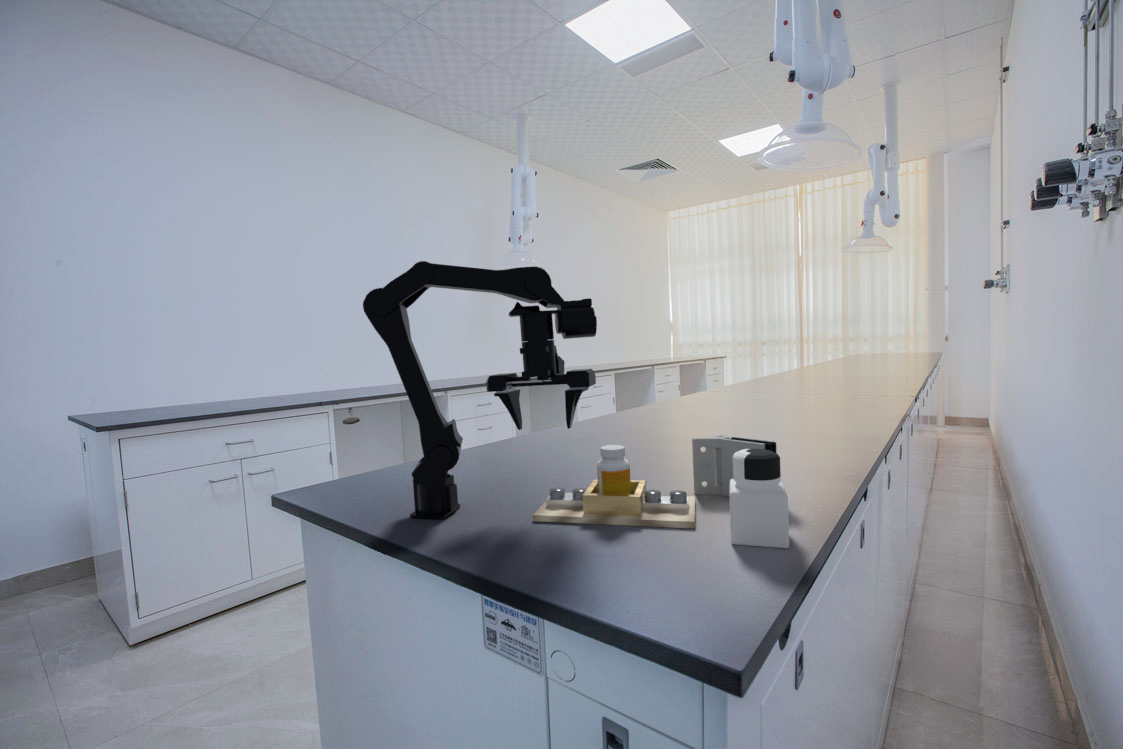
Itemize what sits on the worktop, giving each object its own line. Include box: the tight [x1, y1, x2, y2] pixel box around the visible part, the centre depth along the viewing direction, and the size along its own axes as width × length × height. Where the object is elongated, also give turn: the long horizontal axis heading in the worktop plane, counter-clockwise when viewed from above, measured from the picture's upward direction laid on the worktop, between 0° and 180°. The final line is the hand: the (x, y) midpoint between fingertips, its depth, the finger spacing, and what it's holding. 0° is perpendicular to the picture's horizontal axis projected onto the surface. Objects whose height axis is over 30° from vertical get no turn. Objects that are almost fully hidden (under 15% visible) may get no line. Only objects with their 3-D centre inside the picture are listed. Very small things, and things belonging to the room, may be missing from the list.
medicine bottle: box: [728, 449, 790, 549], centre depth 68 cm, size 7×7×12 cm
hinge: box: [691, 435, 778, 497], centre depth 87 cm, size 14×5×10 cm, turn 52°
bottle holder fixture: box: [545, 478, 689, 516], centre depth 82 cm, size 23×9×3 cm, turn 75°
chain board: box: [532, 492, 696, 529], centre depth 82 cm, size 25×12×1 cm, turn 75°
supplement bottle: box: [596, 444, 631, 495], centre depth 82 cm, size 5×5×10 cm
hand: (544, 428), depth 88 cm, fingers open, 9 cm apart
